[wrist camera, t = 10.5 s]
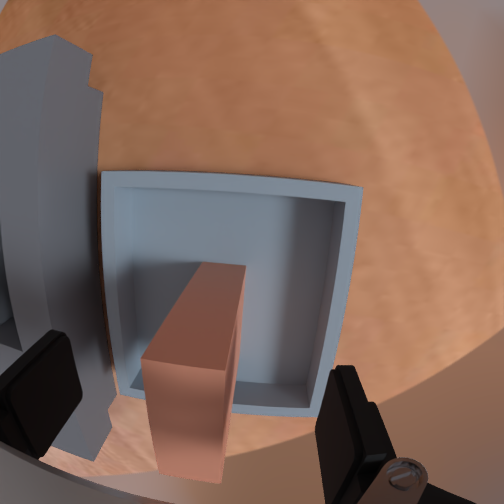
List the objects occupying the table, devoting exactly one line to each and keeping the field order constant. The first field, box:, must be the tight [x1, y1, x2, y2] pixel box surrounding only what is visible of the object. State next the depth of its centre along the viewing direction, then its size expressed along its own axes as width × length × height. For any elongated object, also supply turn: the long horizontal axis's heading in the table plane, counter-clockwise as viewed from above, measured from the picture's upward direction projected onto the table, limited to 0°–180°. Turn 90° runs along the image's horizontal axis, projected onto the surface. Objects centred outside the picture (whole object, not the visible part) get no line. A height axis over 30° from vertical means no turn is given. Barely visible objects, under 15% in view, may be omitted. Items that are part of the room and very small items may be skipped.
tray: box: [101, 170, 363, 417], centre depth 18 cm, size 14×13×3 cm
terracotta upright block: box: [140, 262, 246, 484], centre depth 14 cm, size 6×2×10 cm, turn 176°
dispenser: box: [0, 35, 117, 462], centre depth 16 cm, size 26×10×6 cm, turn 176°
